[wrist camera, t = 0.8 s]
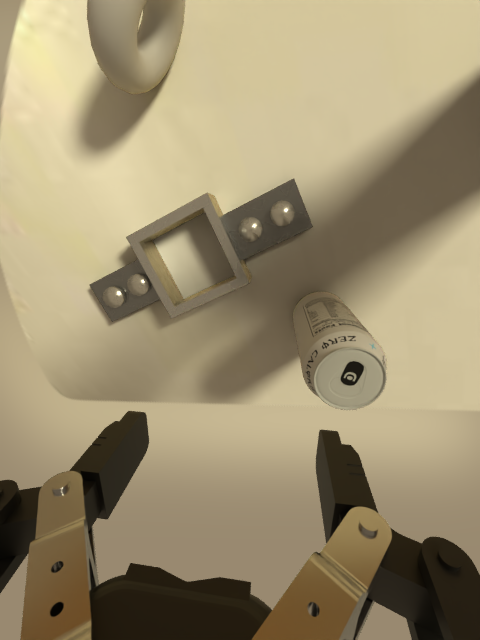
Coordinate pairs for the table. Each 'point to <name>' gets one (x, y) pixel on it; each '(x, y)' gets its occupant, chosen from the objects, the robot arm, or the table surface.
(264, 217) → the mounting bracket
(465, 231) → the table surface
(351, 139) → the table surface
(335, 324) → the energy drink can
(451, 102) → the table surface
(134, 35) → the donut
